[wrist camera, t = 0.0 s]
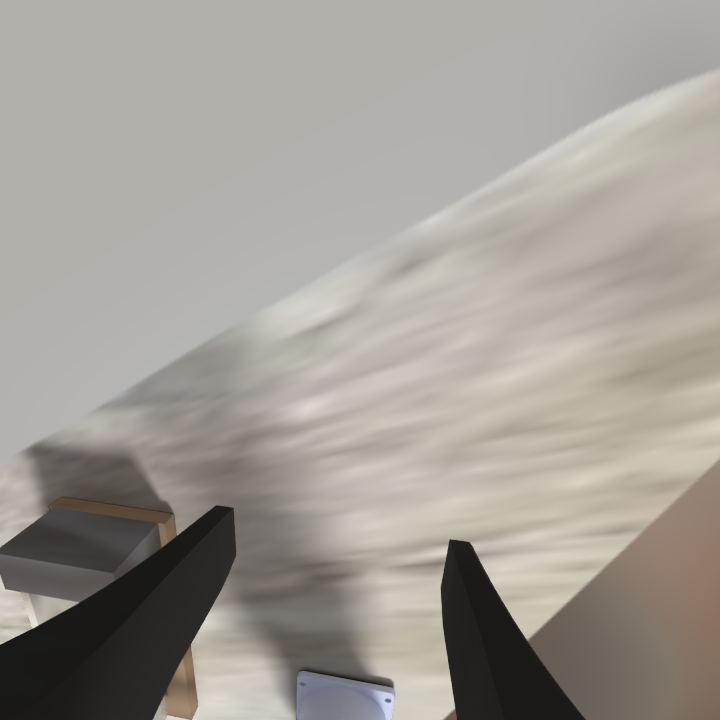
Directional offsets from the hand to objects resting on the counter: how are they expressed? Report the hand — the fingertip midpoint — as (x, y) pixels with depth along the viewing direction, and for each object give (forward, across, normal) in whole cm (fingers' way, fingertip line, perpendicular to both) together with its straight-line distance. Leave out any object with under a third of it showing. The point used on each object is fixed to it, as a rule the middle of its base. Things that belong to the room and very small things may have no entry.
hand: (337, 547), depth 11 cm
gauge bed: (+10, +18, +21) cm, 29 cm away
